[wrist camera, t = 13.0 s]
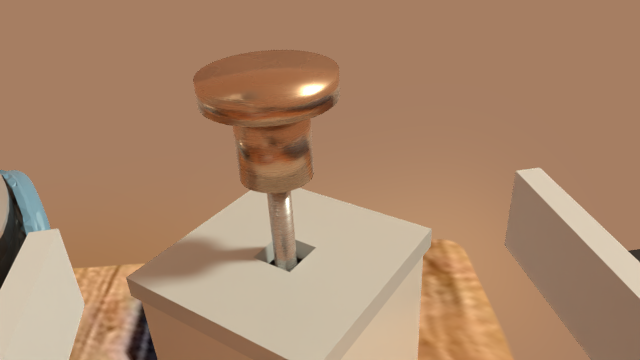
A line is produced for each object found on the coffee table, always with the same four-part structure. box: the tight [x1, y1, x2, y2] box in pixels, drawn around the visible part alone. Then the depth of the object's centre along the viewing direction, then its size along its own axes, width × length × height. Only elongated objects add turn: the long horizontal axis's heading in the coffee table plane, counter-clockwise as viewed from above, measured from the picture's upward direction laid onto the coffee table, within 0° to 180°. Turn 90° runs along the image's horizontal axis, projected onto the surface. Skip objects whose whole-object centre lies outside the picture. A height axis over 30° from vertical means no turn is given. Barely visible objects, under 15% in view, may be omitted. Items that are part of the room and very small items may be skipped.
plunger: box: [193, 50, 340, 272], centre depth 30 cm, size 6×6×23 cm
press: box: [126, 188, 432, 360], centre depth 35 cm, size 12×16×19 cm
